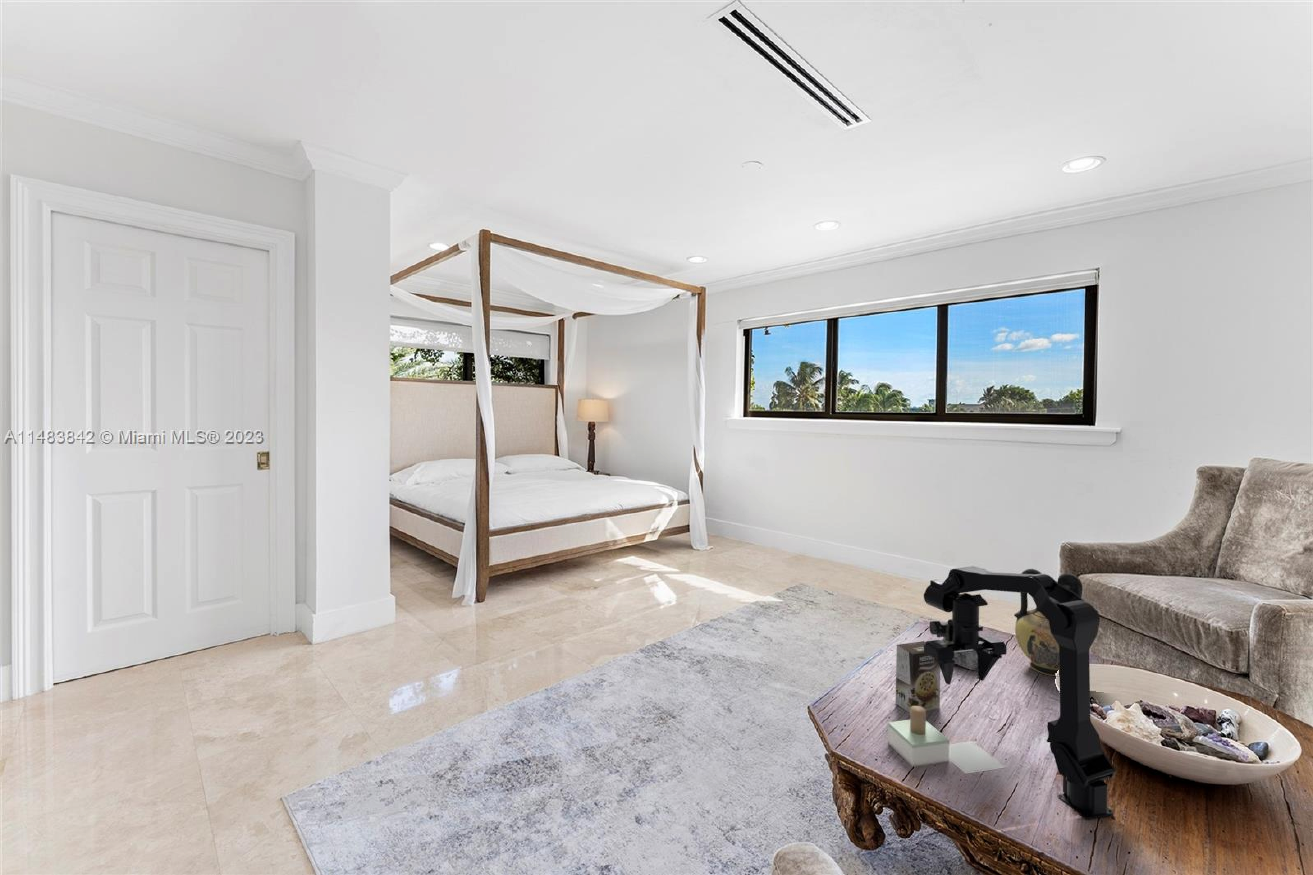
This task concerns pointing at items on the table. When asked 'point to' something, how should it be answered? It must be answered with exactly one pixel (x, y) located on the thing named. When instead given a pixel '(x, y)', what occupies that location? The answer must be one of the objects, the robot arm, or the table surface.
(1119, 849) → the table surface
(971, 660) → the mineral rock
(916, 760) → the white open tray
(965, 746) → the mat
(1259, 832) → the table surface
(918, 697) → the coffee box
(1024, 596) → the amphora
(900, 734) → the lid
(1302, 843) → the table surface
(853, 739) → the table surface
